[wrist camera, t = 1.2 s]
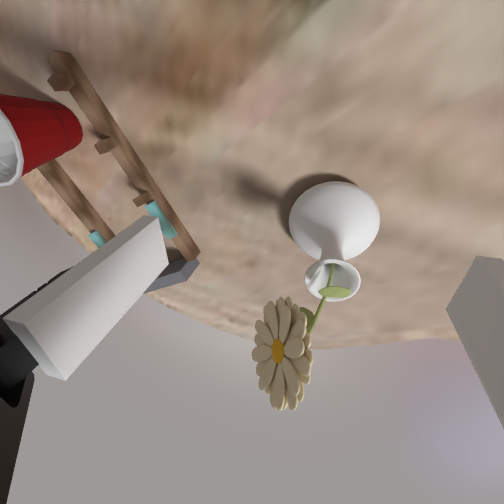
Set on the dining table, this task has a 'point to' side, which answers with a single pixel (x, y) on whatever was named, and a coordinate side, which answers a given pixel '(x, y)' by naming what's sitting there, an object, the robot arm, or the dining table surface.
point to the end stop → (174, 274)
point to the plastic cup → (33, 135)
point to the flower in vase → (313, 283)
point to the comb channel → (116, 142)
